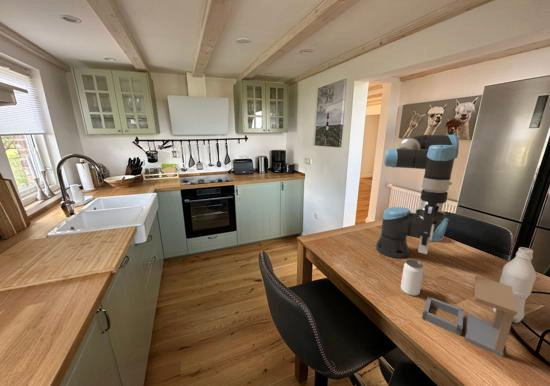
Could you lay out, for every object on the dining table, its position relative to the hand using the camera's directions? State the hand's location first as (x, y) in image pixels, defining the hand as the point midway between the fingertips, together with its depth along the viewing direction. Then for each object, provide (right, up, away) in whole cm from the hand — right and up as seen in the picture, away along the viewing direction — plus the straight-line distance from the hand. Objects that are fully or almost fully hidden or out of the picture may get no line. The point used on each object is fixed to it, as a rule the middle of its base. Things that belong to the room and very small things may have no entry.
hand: (425, 245), depth 82 cm
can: (-3, -19, +5) cm, 20 cm away
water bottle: (+21, -22, -8) cm, 32 cm away
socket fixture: (+4, -23, -11) cm, 26 cm away
